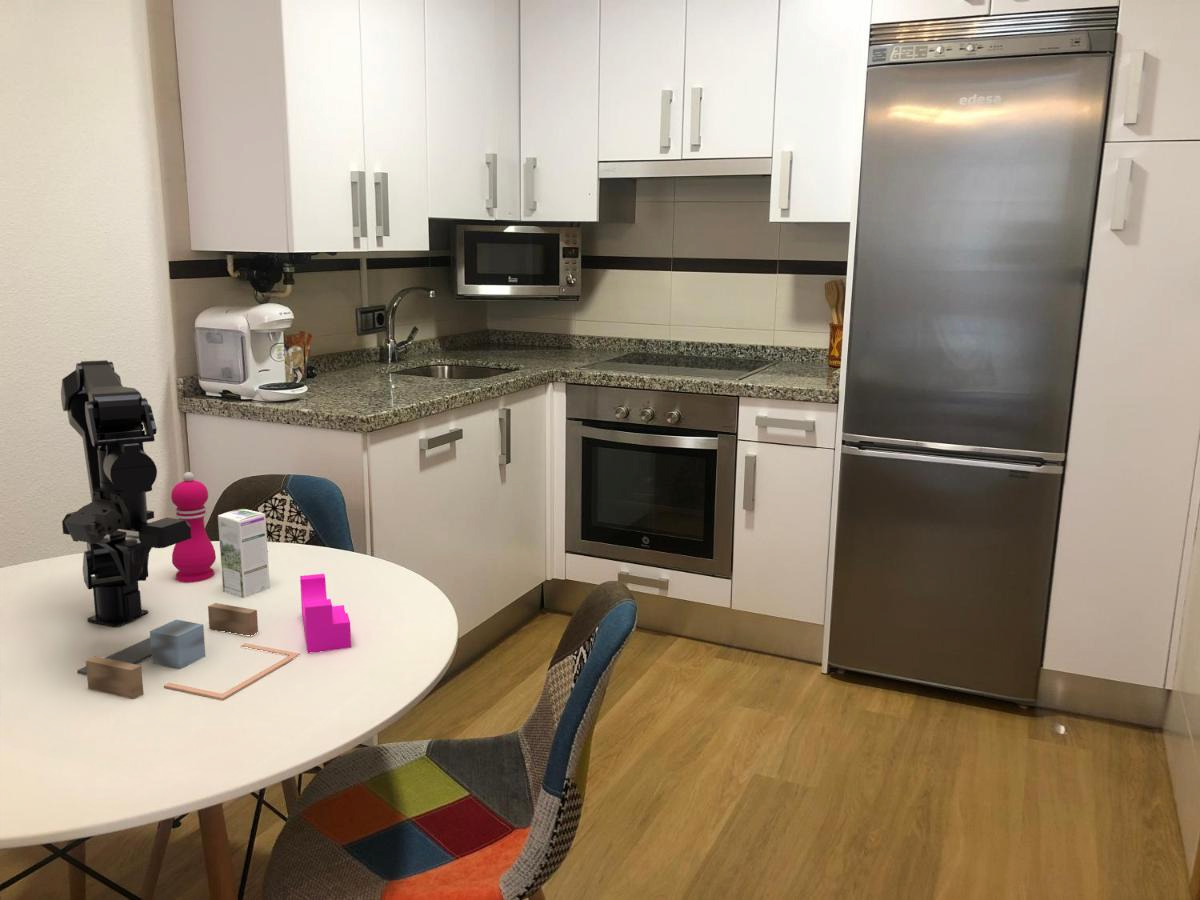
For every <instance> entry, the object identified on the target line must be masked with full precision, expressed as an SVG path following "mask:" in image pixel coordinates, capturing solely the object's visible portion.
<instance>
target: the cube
mask: <svg viewBox="0 0 1200 900" xmlns="http://www.w3.org/2000/svg"><path fill="white" fill-rule="evenodd" d="M204 629H205V628H204V624H202V623H197V622H191V621H187V620H181V619H174V620H172V621H170V622H168V623H165V624H163V625H161V626H158V627H157V628H153V629H152V630H149V638H150V641H151V654H152V657H151V664H152V665H156V666H161V667H166V668H172V669H175V670H181V669H183V668H185V667H187V666H190V665H192V664H194V663H196V662H198V661H199V660H201V659H203V658H206V644H205V630H204Z"/></svg>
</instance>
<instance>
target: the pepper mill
mask: <svg viewBox="0 0 1200 900" xmlns="http://www.w3.org/2000/svg"><path fill="white" fill-rule="evenodd" d="M182 476H183V477H182V478H183V481H179V482H178V483H177V484H175V485H174V486H173V488H172V491H171V494H170V498H171V502H172V504H173V505H175V507H176V509H175V510H174V511H175V517H176V519H181V520H186V521H187V522H188V523H189V524H190V527H191V539H188V540H185V541H182V542H179V543H177V544H174V547H173V550H172V553H171V557H172V558H171V562H172V565H173V566H174V567H175V568H176V569H177V570H178V571H176V573H175V579H176V581H177V582H180V583H186V584H187V583H188V584H189V583H198V582H203V581H206V580H208V579H211V578H212V577H214V575H215V572H214V571H215V570H214V569H213V568H212V566H213V565H214V563H215V562H216V560H217V555H216V550H215V548H214V545H213V543H212V542H211V539H210V538H209V535H208V534H207V530H206V526H205V517H206V515H207V512H206V510H207V507H206V506H205V504H206V503H207V501H208V499H209V492H208V489H207V486H206V485H205V484H204V483H203V482H201V481H198V480H196V479H195V476H194V474H193V472H191V471H187V472H185V473H184V474H183V475H182ZM194 479H195V480H194Z"/></svg>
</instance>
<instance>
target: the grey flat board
mask: <svg viewBox="0 0 1200 900" xmlns="http://www.w3.org/2000/svg"><path fill="white" fill-rule="evenodd" d="M104 658H107V659H111V660H116V661H121V662H126V663H131V664H136V665H138V664H139V663H142V662H143V661H145V660H146V659H149V658H152V654H151V641H150V637H147V638H145V639H143V640H141V641H139V642H136V643H134V644H132V645H130V646H128V647H125V648H124V649H121V650H119V651H117V652H115V653H113V654H110V655H107V656H105V657H104ZM76 674H79V675H85V676H87V669H86V665H85V666H83V667H81V668H80V669H77V670H76Z"/></svg>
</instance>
